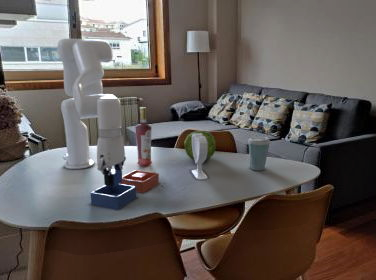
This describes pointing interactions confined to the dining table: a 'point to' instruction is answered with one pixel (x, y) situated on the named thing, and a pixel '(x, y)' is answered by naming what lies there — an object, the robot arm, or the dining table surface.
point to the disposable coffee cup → (258, 152)
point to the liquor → (143, 140)
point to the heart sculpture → (199, 154)
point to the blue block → (116, 176)
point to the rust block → (139, 177)
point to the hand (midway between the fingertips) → (113, 182)
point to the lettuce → (209, 140)
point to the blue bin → (113, 196)
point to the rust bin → (141, 185)
